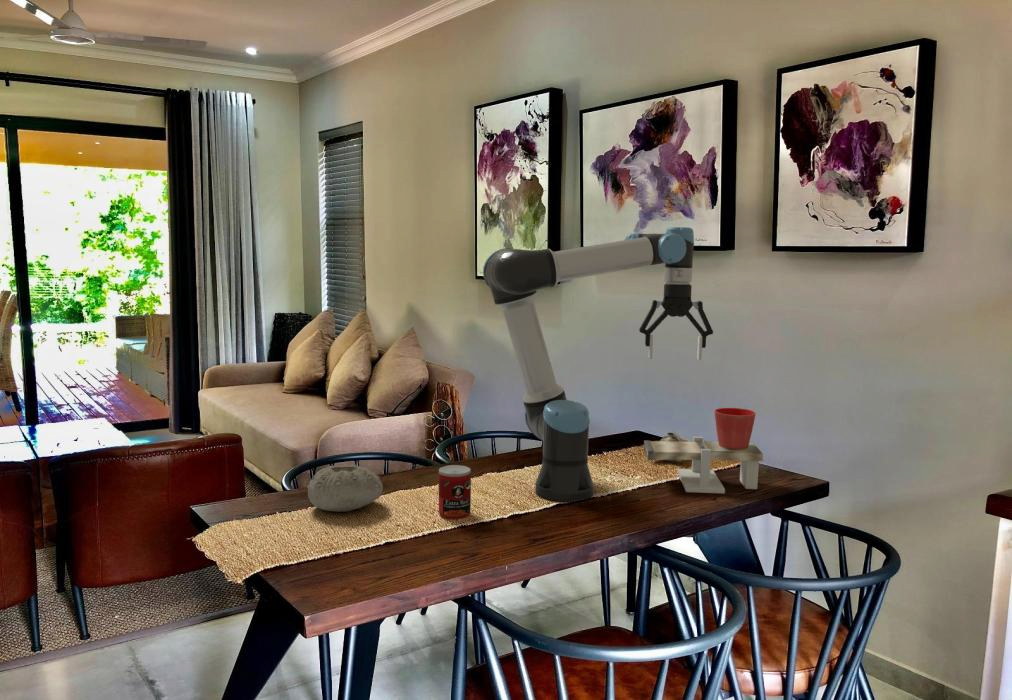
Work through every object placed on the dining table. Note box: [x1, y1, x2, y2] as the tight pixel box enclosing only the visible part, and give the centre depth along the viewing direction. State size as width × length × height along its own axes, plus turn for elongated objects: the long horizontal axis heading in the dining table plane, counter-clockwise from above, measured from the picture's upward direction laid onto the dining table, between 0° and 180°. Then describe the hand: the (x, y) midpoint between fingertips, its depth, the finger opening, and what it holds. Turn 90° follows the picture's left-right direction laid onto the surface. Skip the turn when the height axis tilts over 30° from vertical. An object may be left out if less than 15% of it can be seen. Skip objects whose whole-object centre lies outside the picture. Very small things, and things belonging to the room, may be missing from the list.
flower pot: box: [714, 407, 756, 449], centre depth 220 cm, size 11×11×10 cm
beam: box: [643, 439, 764, 462], centre depth 222 cm, size 30×12×3 cm, turn 85°
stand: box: [676, 436, 760, 494], centre depth 222 cm, size 20×18×11 cm
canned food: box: [438, 464, 472, 520], centre depth 193 cm, size 8×8×11 cm
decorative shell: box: [306, 464, 384, 513], centre depth 197 cm, size 18×18×10 cm
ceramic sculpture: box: [653, 431, 684, 463], centre depth 246 cm, size 11×9×15 cm
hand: (674, 358), depth 229 cm, fingers open, 13 cm apart
